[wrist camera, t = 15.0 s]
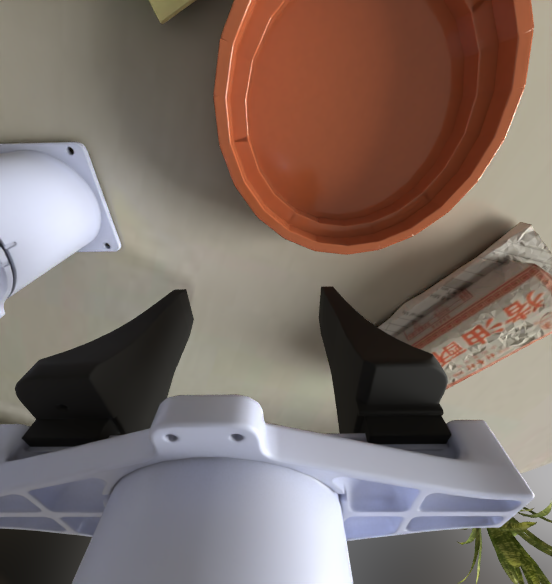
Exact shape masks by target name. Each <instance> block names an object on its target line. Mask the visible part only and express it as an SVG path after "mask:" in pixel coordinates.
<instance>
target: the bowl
mask: <svg viewBox="0 0 552 584" xmlns="http://www.w3.org/2000/svg"><path fill="white" fill-rule="evenodd" d="M533 28H534V23H533V14H532V5H531V0H234V1H233V4H232V6H231V9H230V12H229V15H228V17H227V20H226V23H225V25H224V28H223V31H222V34H221V39H220V40H219V49H218V58H217V66H216V75H215V84H214V92H213V95H214V96H213V99H214V107H215V115H216V124H217V132H218V140H219V145H220V149H221V152H222V154H223V157H224V160H225V162H226V165H227V168H228V170H229V173H230V175H231V178H232V181H233V183H234V185H235V187H236V189H237V190H238V191H239V193H240V194H241V196H242V197H243V198H244V200H245V201H246V203H247V204H248V205H249V207H250V208H251V210H252V211H253V212H254V214H255V215H256V216H257V217H258V218H259V219H260V220H261V221H263V222H264V223H265V224H266V225H268V226H269V227H270V228H271V229H273V230H274V231H275V232H276V233H278V234H279V235H280V236H281V237H283V238H285V239H287V240H289V241H291V242H294V243H296V244H299V245H301V246H304V247H306V248H308V249H311V250H314V251H319V252H328V253H337V254H345V255H346V254H354V253H361V252H367V251H374V250H379V249H383V248H385V247H387V246H390V245H392V244H395V243H397V242H400V241H402V240H405V239H407V238H410V237H412V236H413V235H416V234H417V233H419V232H420V231H422V230H423V229H425V228H426V227H428V226H429V225H431V224H432V223H433V222H435V221H436V220H438V219H439V218H441V217H442V216H444V215H445V214H446V213H448V212H449V211H450V210H451V209H452V208H453V207H454V206H455V205H456V204H457V203H458V202H459V201H460V200H461V198H462V197H463V196H464V195H465V194H466V193H467V192H468V191H469V190H470V189H471V188H472V187H473V186H474V185H475V184H476V183H477V182H478V180H479V179H480V177H481V176H482V174H483V173H484V171H485V170H486V168H487V166H488V165H489V163H490V162H491V160H492V159H493V157H494V156H495V154H496V152H497V151H498V149H499V148H500V146H501V145H502V143H503V141H504V140H505V139H504V138H506V135H507V133H508V130H509V128H510V125H511V122H512V120H513V117H514V115H515V112H516V109H517V107H518V104H519V102H520V99H521V96H522V94H523V91H524V87H525V84H526V78H527V71H528V64H529V57H530V50H531V44H532V37H533Z"/></svg>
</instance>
